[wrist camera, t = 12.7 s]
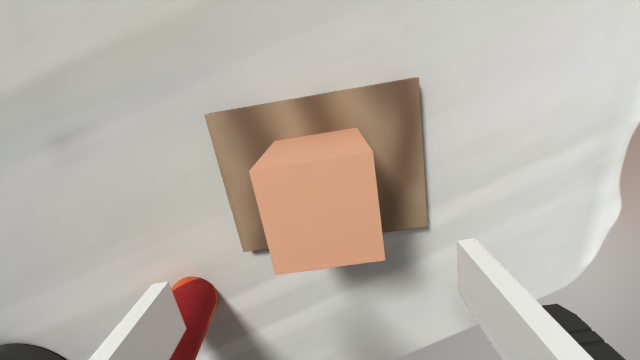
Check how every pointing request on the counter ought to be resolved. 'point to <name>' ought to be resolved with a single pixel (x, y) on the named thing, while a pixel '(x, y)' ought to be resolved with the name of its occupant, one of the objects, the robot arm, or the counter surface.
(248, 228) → the wooden base with block
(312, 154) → the peach bevelled cube
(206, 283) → the paper cup
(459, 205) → the counter surface
